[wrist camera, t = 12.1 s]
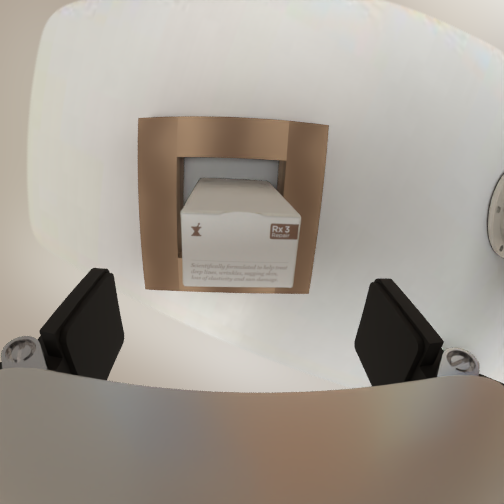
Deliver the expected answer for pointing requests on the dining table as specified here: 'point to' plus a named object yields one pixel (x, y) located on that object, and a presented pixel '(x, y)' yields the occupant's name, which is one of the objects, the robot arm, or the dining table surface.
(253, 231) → the skincare box
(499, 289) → the dining table surface
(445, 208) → the dining table surface
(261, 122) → the wooden square frame
